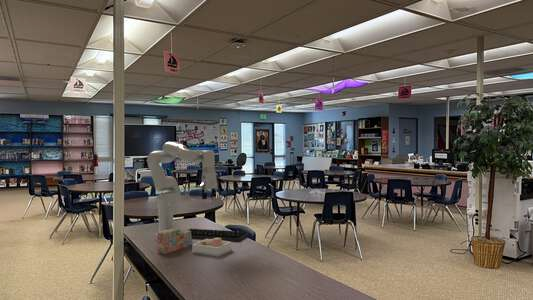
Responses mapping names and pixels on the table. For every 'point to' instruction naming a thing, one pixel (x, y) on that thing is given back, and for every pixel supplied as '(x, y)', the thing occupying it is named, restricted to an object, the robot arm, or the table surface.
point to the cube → (206, 242)
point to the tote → (211, 249)
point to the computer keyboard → (218, 234)
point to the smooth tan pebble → (217, 242)
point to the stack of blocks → (173, 240)
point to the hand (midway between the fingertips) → (209, 197)
